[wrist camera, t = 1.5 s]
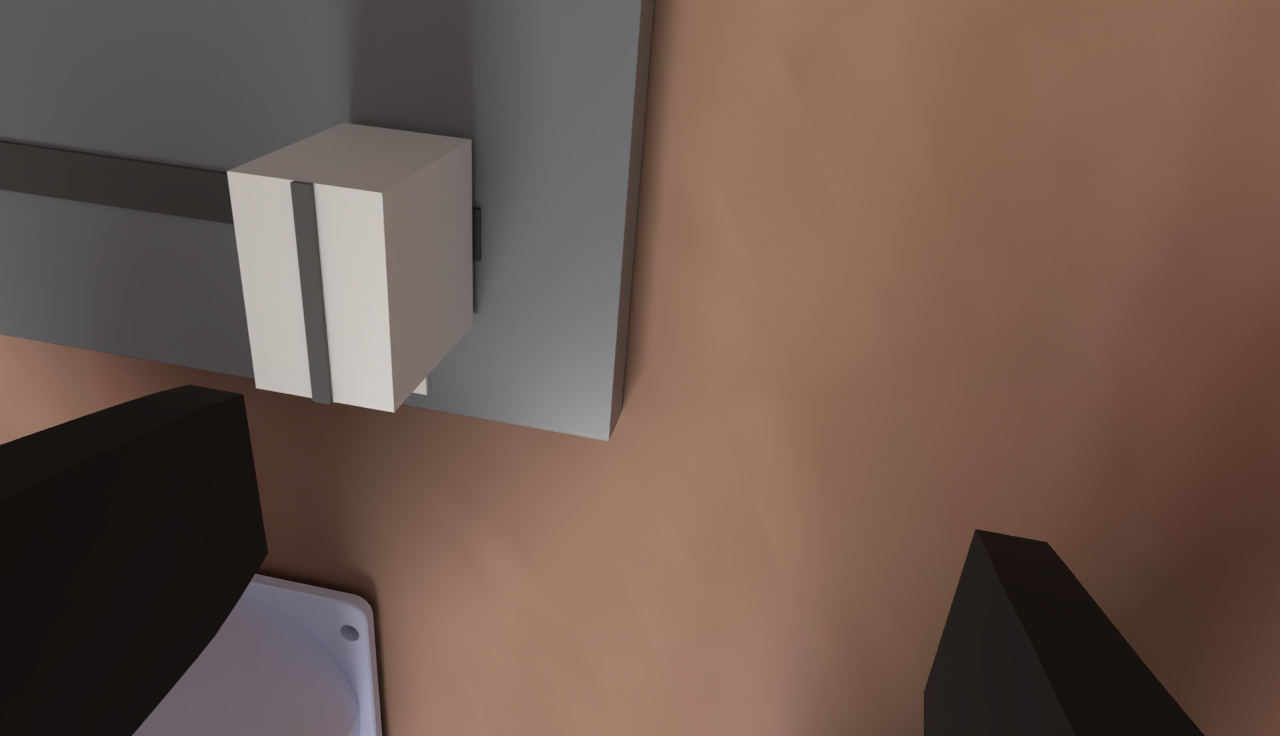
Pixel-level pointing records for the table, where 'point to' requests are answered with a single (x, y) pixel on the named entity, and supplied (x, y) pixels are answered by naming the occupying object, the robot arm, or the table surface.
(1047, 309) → the table surface
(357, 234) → the block
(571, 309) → the console
